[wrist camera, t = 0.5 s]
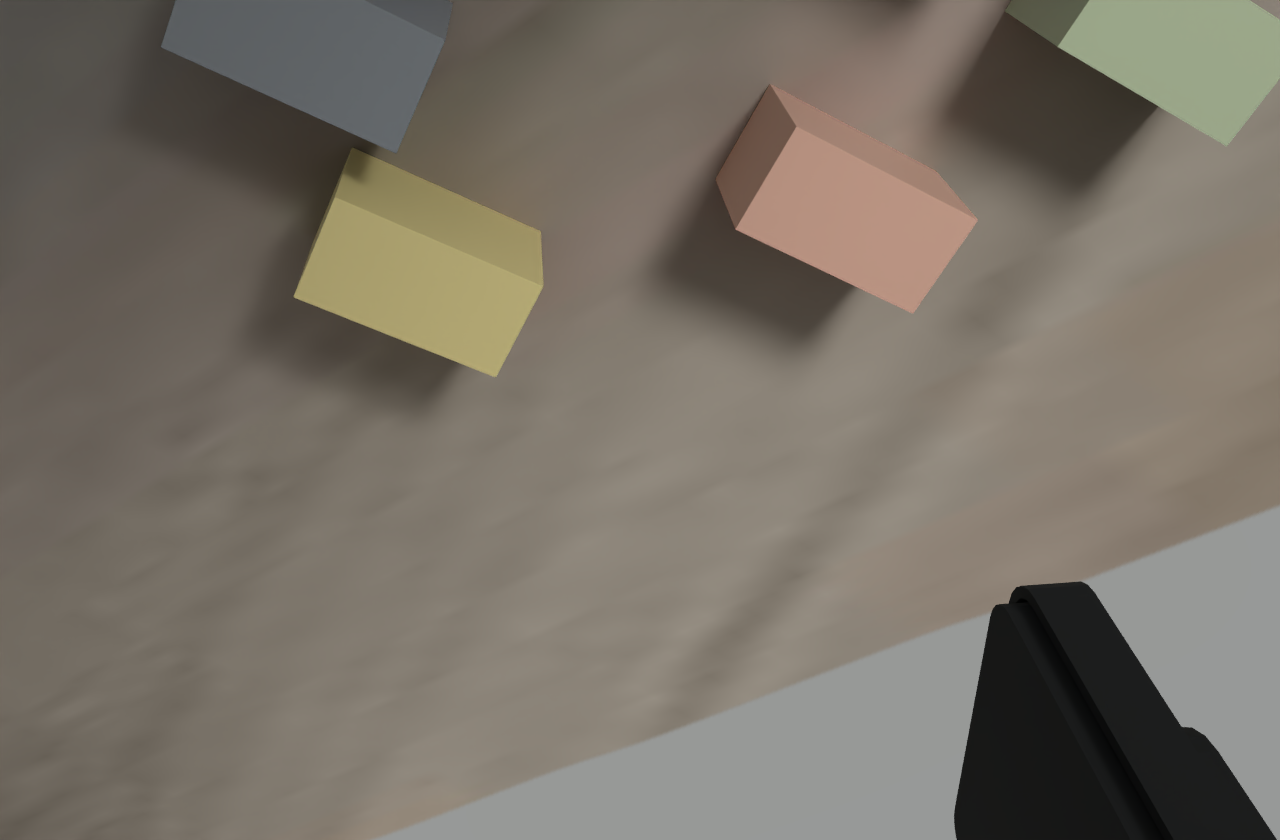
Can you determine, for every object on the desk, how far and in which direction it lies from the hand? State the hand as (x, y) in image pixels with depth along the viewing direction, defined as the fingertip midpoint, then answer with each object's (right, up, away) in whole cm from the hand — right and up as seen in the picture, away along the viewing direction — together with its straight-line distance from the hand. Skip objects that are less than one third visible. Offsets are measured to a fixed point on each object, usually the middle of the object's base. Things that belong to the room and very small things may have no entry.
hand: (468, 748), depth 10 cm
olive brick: (+15, +15, +24) cm, 32 cm away
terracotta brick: (+7, +10, +26) cm, 29 cm away
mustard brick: (-5, +9, +26) cm, 27 cm away
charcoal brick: (-7, +14, +22) cm, 27 cm away
